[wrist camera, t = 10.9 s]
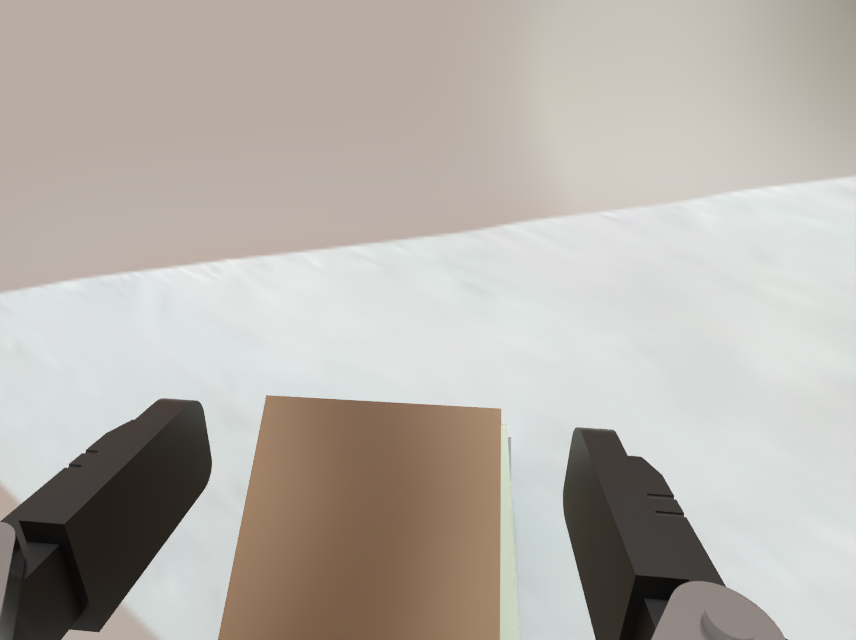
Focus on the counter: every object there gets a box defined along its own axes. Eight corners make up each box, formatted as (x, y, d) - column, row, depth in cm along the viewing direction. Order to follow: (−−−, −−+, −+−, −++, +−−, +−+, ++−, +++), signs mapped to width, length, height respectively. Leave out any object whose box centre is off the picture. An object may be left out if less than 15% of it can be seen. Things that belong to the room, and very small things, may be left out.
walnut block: (475, 458, 16) (500, 408, 9) (471, 610, 15) (499, 703, 7) (345, 450, 17) (266, 395, 9) (326, 599, 15) (210, 677, 7)
